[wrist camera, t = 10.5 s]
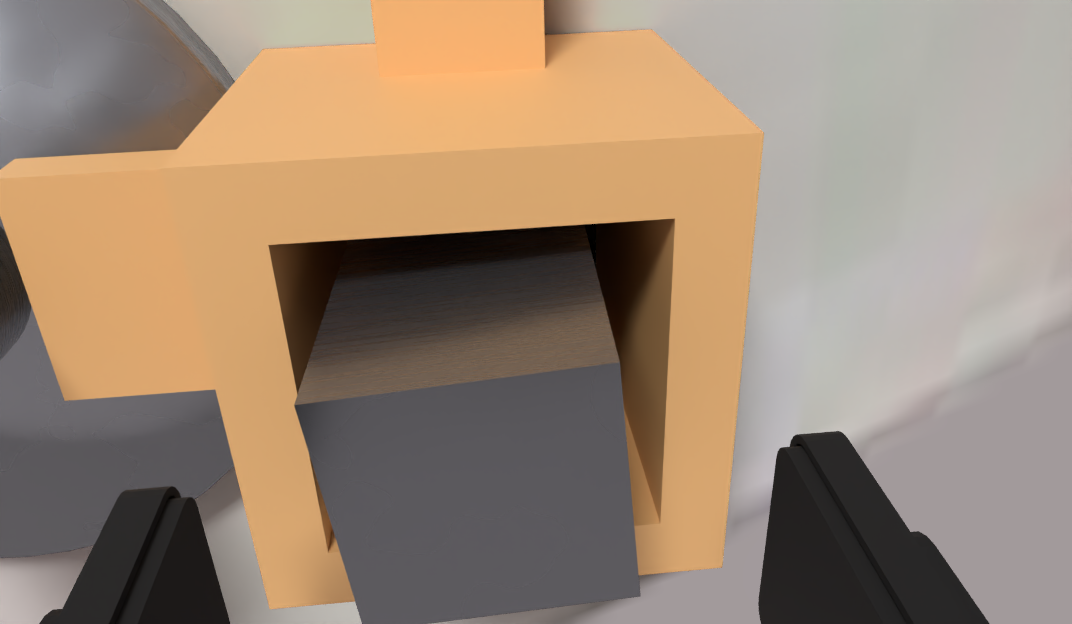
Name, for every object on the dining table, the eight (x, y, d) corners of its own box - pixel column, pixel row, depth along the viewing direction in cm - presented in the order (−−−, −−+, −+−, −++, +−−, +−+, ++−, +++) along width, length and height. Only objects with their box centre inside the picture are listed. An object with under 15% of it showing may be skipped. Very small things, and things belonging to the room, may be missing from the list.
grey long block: (558, 122, 19) (620, 362, 11) (575, 282, 21) (640, 596, 13) (378, 146, 19) (293, 405, 11) (413, 303, 21) (365, 632, 13)
